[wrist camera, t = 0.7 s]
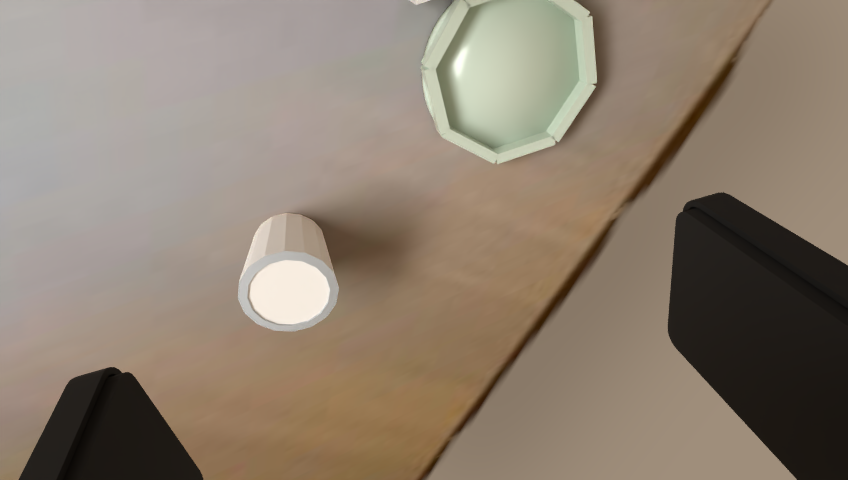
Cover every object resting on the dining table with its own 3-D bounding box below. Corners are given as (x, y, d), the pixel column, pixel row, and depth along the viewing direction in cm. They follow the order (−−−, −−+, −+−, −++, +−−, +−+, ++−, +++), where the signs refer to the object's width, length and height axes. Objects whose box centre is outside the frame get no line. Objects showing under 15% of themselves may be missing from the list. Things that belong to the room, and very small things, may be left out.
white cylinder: (344, 219, 42) (353, 266, 37) (317, 287, 45) (320, 340, 39) (259, 194, 40) (253, 240, 34) (235, 268, 42) (225, 322, 37)
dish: (400, 7, 35) (405, 10, 34) (577, -49, 36) (590, -49, 34) (444, 173, 42) (449, 182, 41) (592, 124, 43) (603, 131, 41)
